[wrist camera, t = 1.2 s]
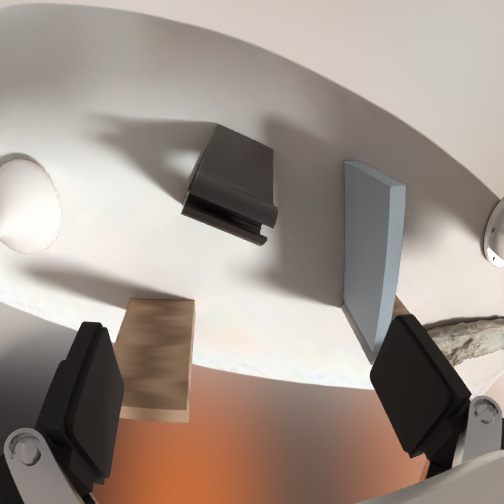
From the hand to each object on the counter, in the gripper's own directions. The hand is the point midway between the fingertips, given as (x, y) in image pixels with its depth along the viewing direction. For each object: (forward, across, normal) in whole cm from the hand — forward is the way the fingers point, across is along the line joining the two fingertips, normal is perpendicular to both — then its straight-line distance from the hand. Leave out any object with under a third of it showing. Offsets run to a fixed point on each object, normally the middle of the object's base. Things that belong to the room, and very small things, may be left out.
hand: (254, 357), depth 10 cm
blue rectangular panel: (+23, -15, +7) cm, 29 cm away
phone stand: (+24, 0, 0) cm, 25 cm away
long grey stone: (+24, -46, +26) cm, 58 cm away
